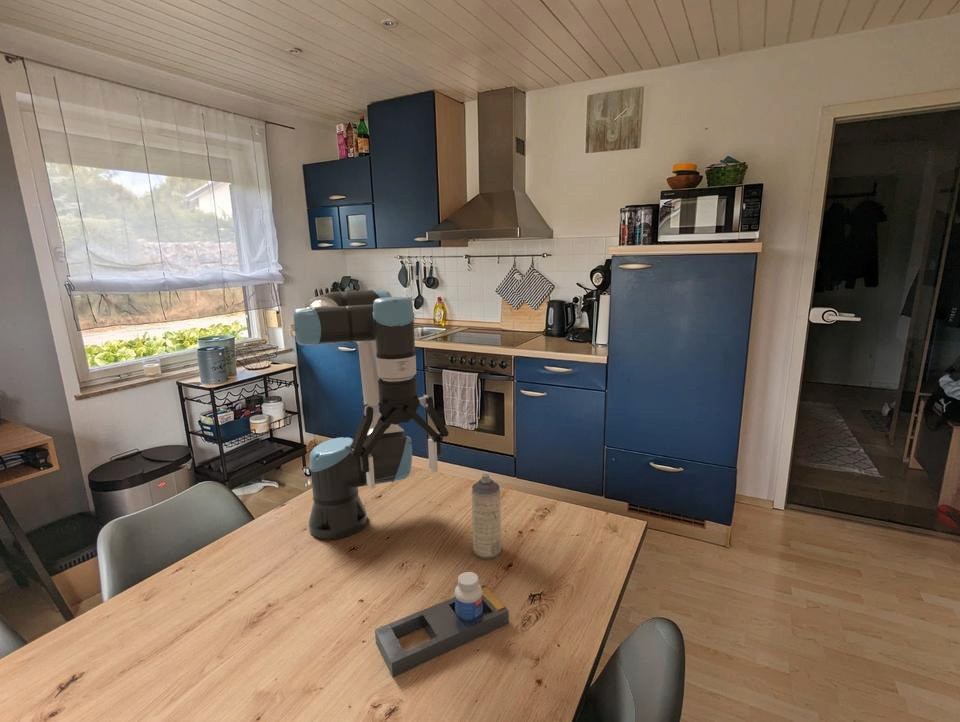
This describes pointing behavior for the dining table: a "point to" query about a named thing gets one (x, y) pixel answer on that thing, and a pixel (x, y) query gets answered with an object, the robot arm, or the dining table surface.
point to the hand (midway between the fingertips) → (403, 477)
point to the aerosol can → (486, 518)
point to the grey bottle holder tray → (437, 632)
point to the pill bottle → (468, 598)
